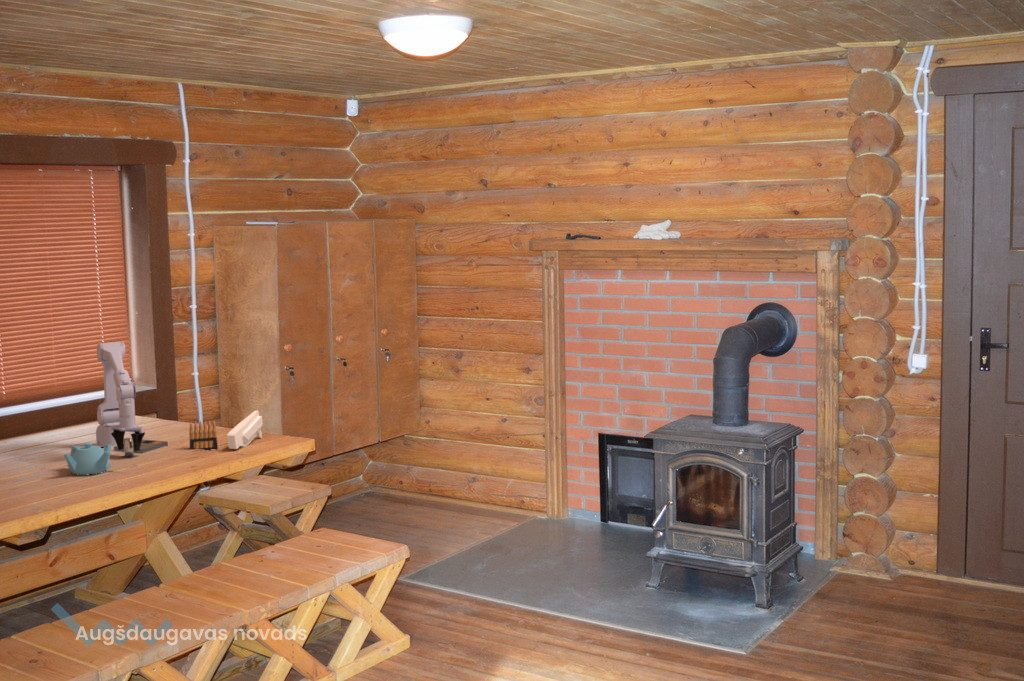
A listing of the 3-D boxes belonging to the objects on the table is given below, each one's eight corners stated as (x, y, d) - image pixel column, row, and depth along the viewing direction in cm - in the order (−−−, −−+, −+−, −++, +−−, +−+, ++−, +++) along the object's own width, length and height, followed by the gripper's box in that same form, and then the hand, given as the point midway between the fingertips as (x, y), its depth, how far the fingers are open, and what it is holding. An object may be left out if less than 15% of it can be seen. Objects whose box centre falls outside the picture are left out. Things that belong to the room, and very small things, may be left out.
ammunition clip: (217, 448, 423) (216, 419, 421) (217, 449, 421) (216, 420, 420) (189, 451, 419) (188, 421, 417) (190, 452, 417) (188, 422, 416)
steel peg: (123, 457, 405) (122, 439, 404) (128, 455, 408) (127, 437, 407) (129, 457, 403) (128, 439, 403) (135, 455, 406) (134, 438, 406)
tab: (118, 459, 404) (118, 457, 404) (127, 457, 409) (127, 454, 409) (131, 461, 402) (131, 458, 402) (140, 458, 407) (139, 455, 407)
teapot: (114, 465, 396) (113, 437, 394) (110, 475, 381) (108, 445, 380) (71, 468, 392) (69, 440, 390) (65, 478, 377) (63, 448, 376)
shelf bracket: (266, 438, 443) (263, 410, 439) (241, 463, 420) (237, 434, 416) (254, 437, 444) (250, 410, 440) (228, 463, 421) (224, 434, 417)
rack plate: (114, 452, 416) (113, 446, 416) (139, 445, 430) (139, 438, 430) (142, 455, 411) (142, 449, 411) (167, 447, 425) (167, 441, 425)
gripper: (104, 416, 402) (106, 450, 404) (135, 418, 397) (137, 453, 399) (117, 412, 409) (119, 447, 410) (147, 415, 404) (149, 449, 405)
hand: (128, 450), depth 405 cm, fingers open, 7 cm apart
